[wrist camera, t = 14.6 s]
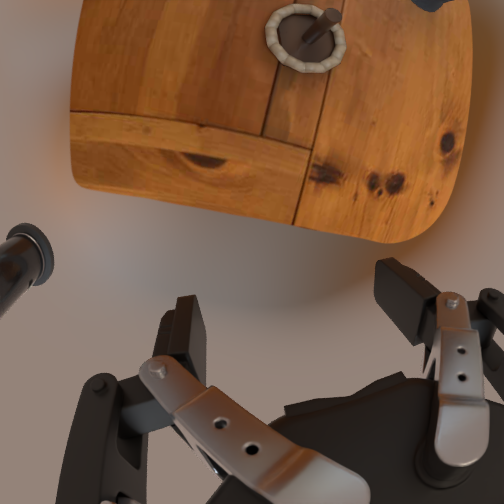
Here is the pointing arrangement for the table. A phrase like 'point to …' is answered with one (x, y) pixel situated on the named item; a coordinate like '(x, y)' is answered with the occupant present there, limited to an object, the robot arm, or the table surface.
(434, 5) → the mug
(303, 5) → the ring
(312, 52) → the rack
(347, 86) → the table surface
